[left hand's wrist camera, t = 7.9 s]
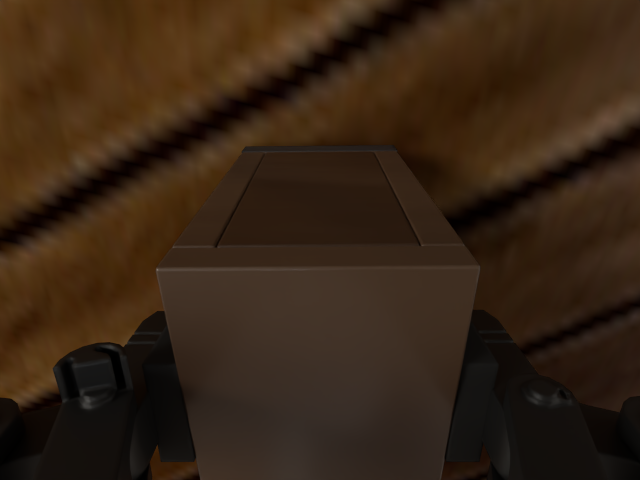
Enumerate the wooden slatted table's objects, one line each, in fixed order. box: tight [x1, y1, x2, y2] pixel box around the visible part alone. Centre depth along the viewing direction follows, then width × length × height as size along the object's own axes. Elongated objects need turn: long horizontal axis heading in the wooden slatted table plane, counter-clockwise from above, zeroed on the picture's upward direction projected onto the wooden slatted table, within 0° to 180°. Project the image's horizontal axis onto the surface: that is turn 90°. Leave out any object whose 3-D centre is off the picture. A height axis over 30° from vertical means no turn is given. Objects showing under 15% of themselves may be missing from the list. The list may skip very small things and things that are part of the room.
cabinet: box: [156, 145, 480, 480], centre depth 16 cm, size 22×6×10 cm, turn 1°
